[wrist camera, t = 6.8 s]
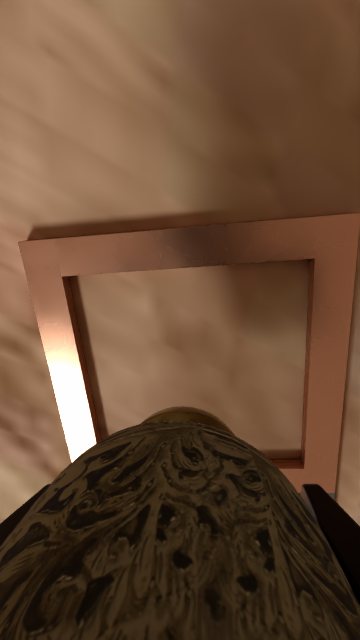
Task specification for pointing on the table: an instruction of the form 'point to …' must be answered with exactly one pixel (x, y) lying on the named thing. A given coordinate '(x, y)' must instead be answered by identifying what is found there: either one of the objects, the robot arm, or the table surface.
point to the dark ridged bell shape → (173, 545)
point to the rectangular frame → (196, 251)
